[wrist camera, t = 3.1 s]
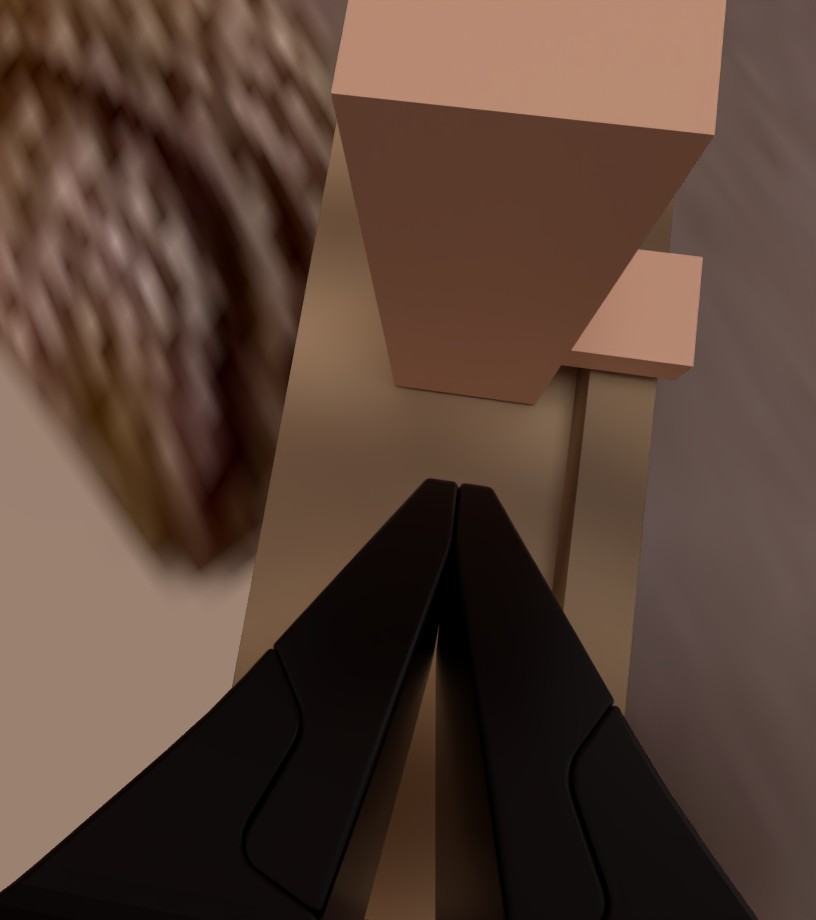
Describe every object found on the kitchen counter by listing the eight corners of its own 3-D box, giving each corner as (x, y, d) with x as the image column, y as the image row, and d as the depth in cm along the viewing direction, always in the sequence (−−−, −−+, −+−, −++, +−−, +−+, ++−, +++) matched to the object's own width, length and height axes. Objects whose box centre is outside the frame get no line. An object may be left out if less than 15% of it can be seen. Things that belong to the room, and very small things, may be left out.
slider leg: (647, 420, 15) (1037, 169, 5) (394, 385, 16) (330, 94, 6) (660, 285, 16) (1038, -166, 6) (415, 255, 16) (389, -215, 6)
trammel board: (580, 934, 15) (986, 1973, 4) (210, 865, 15) (-328, 1606, 4) (691, -174, 19) (1019, -1101, 9) (404, -197, 20) (370, -1094, 9)
